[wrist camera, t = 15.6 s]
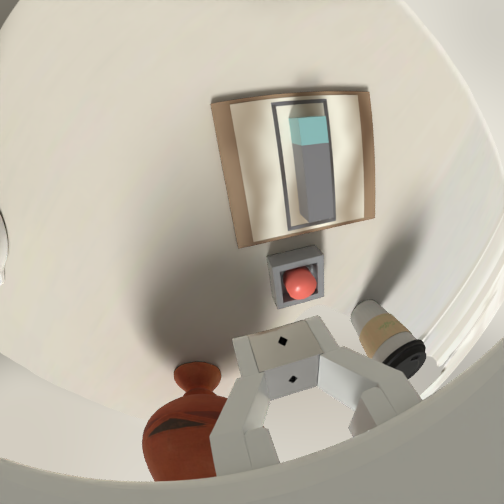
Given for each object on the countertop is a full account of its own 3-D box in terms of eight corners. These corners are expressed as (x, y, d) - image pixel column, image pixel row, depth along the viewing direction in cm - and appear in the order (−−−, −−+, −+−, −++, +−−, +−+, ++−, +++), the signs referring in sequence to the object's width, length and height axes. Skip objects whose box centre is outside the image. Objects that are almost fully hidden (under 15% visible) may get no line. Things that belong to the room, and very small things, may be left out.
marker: (322, 209, 34) (333, 217, 32) (299, 213, 34) (309, 222, 31) (314, 115, 29) (325, 116, 26) (288, 118, 28) (298, 118, 25)
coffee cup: (384, 283, 44) (434, 338, 31) (384, 318, 49) (425, 370, 36) (338, 305, 44) (382, 370, 31) (343, 339, 49) (379, 398, 36)
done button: (283, 291, 39) (289, 302, 36) (281, 268, 37) (286, 278, 34) (310, 284, 39) (316, 295, 37) (309, 261, 37) (316, 271, 35)
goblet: (265, 381, 50) (300, 493, 28) (185, 409, 51) (196, 513, 29) (218, 323, 41) (246, 482, 19) (125, 363, 42) (113, 494, 20)
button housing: (272, 296, 40) (277, 309, 38) (266, 256, 37) (272, 267, 34) (316, 285, 41) (324, 296, 38) (314, 245, 38) (323, 254, 35)
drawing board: (237, 245, 35) (238, 249, 35) (210, 104, 27) (210, 103, 26) (371, 216, 37) (375, 218, 36) (365, 92, 29) (369, 91, 28)
